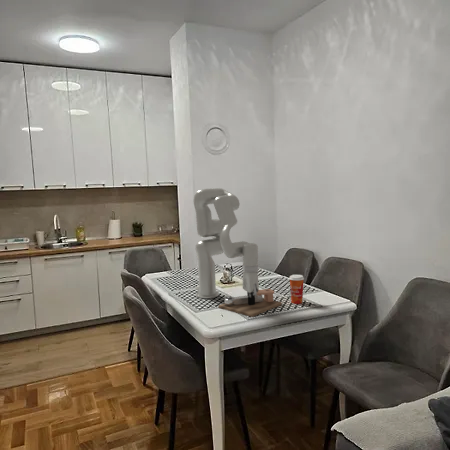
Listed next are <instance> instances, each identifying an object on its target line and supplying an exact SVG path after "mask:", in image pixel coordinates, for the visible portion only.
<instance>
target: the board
mask: <svg viewBox="0 0 450 450" xmlns="http://www.w3.org/2000/svg"><path fill="white" fill-rule="evenodd" d="M280 306H282V301H278V300H277V301H276V300H273V302H267V301H266V300H264V297H263V301H262V302H255V305H248V303H246V304H239V305H233V306H226V305H225V302H224V303H221V304H219V305H218V307H217V308H218V309H221V310H225V311H229V312H232V313H236V314H240V315H244V316H246V317H247V316H248V317H250V318H253V317H256V316H258V315H261V314H263V313H265V312H267V310H268V311H270V310H272V308H273V309H275V308H278V307H280ZM260 313H261V314H260Z"/></svg>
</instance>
